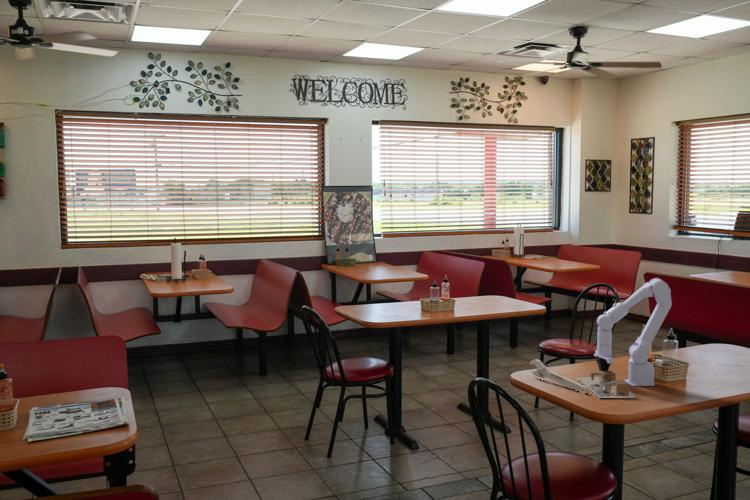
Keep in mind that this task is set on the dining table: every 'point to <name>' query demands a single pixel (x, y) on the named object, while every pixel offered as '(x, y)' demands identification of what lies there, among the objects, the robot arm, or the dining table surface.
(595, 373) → the slider
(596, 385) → the gauge plate
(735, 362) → the dining table surface
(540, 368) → the wrench
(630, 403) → the dining table surface
